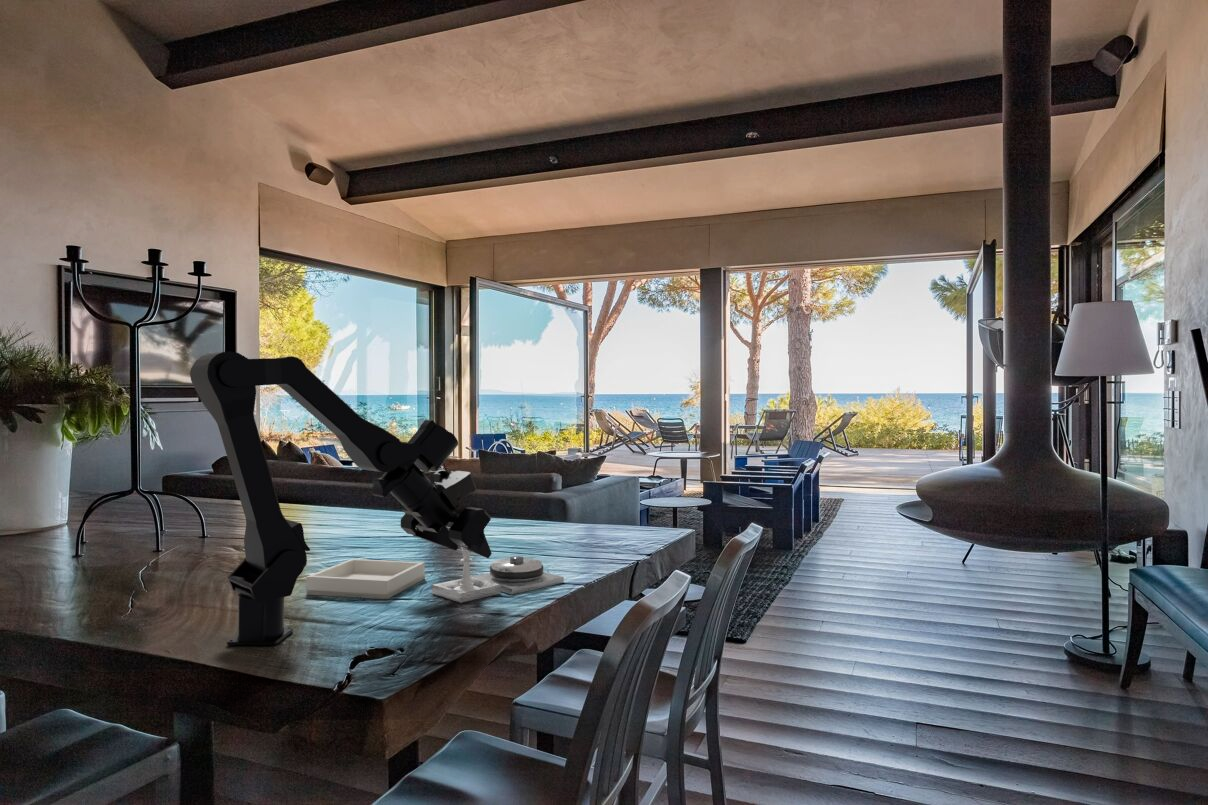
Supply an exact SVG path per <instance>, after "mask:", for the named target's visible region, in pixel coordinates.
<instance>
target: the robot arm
mask: <svg viewBox="0 0 1208 805" xmlns="http://www.w3.org/2000/svg"><path fill="white" fill-rule="evenodd" d="M189 374H190V376H189V377H190V382H191V383H192V385H193V387H194V389H195V391H196V393H197V395H198V397H199V400H200V401H201V402H202V404H203V406H204V407H205V408H206V410H207V412H208V413H209V414H210V415H211V417H212V418H213V419H214V421H215V422H216V424H217V427H218V431H219V433H220V436H221V440H222V443H223V447H224V450H225V453H226V458H227V461H228V463H229V467H230V471H231V473H232V478H233V480H234V484H235V488H236V491H237V493H238V496H239V501H240V504H241V507H242V511H243V514H244V518H245V530H244V539H243V543H244V553H245V555H244V556H245V558H244V559H243V560H242V561H241V562H240V563H239V564H238V565H237V566H236V567H235V569H234V570H233V571H232V572H230V574H229V575H227V576H228V577H227V581H228V583H229V585H230V588H231V591H234V592H238V594H237V634H236V635H233V636H232V637H231V638H230V639H228V640H226V646H274V645H278V643H280V642H281V641H283V640H284V639H285V638H286V637H287V636H289V635H290V634H291V633H292V632H294V627H293V626H285V597H290V596H291V595H292V594H293V592H294V588H295V586H296V582H297V580H298V578H299V576H300V575H301V574H302V573H303V571H304V570H305V567H306V566H307V563H308V558H307V556H308V555H307V552H310V551H311V548H310V547H309V546H308V544H307V543H306V540H305V533H304V528H303V527H304V526H303V524H302V523H301V522H299V521H294V520H289V519H286V517H285V515H284V514H283V512H282V510H281V506H280V502H279V500H278V496H277V492H276V489H275V486H274V485H275V484H274V482H273V478H272V475H271V471H270V468H269V465H268V460H267V457H266V454H265V451H264V447H263V444H262V440H261V437H260V433H259V430H258V426H257V423H256V419H255V406H256V398H257V388H256V387H257V386H272V385H273V386H274V385H276V386H279V387H280V389H282V390H283V391H284V392H286V394H288V395H289V396H290V397H291V398H292V399H293V400H294V401H296V402H297V403H298V404H299V405H300V406H302V407H303V408H304V409H305V410H306V411H307V412H308V413H309V414H311V416H313V417H314V418H316V419H317V420H318V421H319V422H320V423H321V424H322V425H324V427H326V429H328V430H329V431H330V432H331V433H333V435H335V437H337V439H338V440H339V442H340V444H341V447H342V449H343V450H344V451H345V453H346V454H347V456H348V458H350V459H351V461H352V462H353V463H354V464H355V466H356V467H358V468H359V469H361V470H365V471H373V472H380V473H384V474H382V476H381V477H379V478H373V479H372V483H373V484H372V490H371V495H373V496H376V497H381V498H387V496H389V494H391V495H392V496H393V498H395V499H396V500H397V501H398V503H400V504H401V506H403V507H402V508H401V511H402V512H403V513H404V515H402V517H401V519H400V528H401V529H402V530H403V531H404V532H405V533H406V534H408V535H412V536H413V537H416V538H419V539H421V540H425V541H427V542H429V543H433V544H435V545H438V546H441V547H444V548H447V549H450V550H452V551H457V550H458V549H459V548H460V549H461V548H463V549H465V550H468V551H470V552H471V553H473V554H475V555H478V556H480V557H483V558H485V559H489V558H490V557H491V556H492V550H491V548H490V545H489V542H488V540H487V538H486V535H485V528H486V527H487V526H488V524H489V523H490V521H491V520H492V517H491V515H490V514H489V513H488V512H487V511H486V509H484V508H478V507H472V506H470V507H464V508H463V510H462V511H461V513H459V512H455V510H458V509H459V508H460V506H461V505H462V503H461V502H460V500H462V499H463V498H465V497H466V496H467V495H469V494H472V493H474V492H476V490H477V486H476V483H475V481H474V478H473V476H472V474H471V472H470V471H463V470H455V471H453V470H451V471H450V472H449V471H447V470H446V469H440V468H441V467H442V465H443V464H444V463H445V462H446V461H447V459H448V458H449V457H450V456H451V454H452V453H453V452H454V451H455V449H456V448H457V447H458V446H459V441H458V439H457V437H456V435H455V434H453V432H451V431H449V430H447V429H446V428H445V427H442V426H441V425H439V424H437V423H436V422H435V421H434V420H433V419H425V420H424V421H423V422H422V423H421V424H420V426H419V428H418V430H417V431H416V432H415V433H414V434H413V435H412V436H411V437H410V439H409V440H408V441H401V440H400V438H398V437H397V436H396V435H393V434H392V433H391V432H389V431H387V430H386V429H385V428H382V427H381V426H379V425H376V424H374V423H372V422H370V421H368V420H367V419H365V418H364V417H362V416H361V415H360V414H358V413H357V412H356V411H355V410H354V409H353V408H352V407H351V406H350V405H348V404H347V402H345V400H343V399H342V398H340V396H339V395H337V393H335V392H334V391H333V390H332V389H331V388H330V387H329V386H327V385H326V384H325V383H324V382H323V381H322V380H321V379H320V378H319V377H318V376H316V374H314V372H312V371H311V370H310V369H309V368H308V367H307V366H306V364H305V363H304V362H303V360H301V359H300V358H299V357H297V356H294V355H293V356H291V355H290V356H281V357H274V358H273V357H271V358H248V357H246V356H245V355H243V354H241V353H239V352H236V351H228V350H227V351H220V352H219V351H218V352H210V353H207V354H204V355H202V356H200V357H199V358H197V359H196V360H195V361H194V362H193V364H192V366H191V367H190V371H189ZM431 471H432V472H434V473H433V482H432V481H431V480H430V478H428V476H426V475H425V474H424V473H429V472H431ZM448 527H449V529H448Z"/></svg>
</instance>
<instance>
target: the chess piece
mask: <svg viewBox="0 0 1208 805" xmlns="http://www.w3.org/2000/svg"><path fill="white" fill-rule="evenodd" d="M460 551H461V553H462V554H461V555H462V556H463V558H461V559H460V563H463V569H462V574H461V575H462V577H461V579H462V582H461V583H460V585H461V586H458V587H455V588H454V589H455V590H458V591H461V592H463V591H467V590H472V589H477V588H479V587H477V586H473V583H472V582H471V577H472V575H471V566H470V563H473V561H474V560H473V558H471V554H472V552H470V551H468V550H465V549H463V548H460Z"/></svg>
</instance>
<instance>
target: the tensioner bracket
mask: <svg viewBox="0 0 1208 805" xmlns="http://www.w3.org/2000/svg"><path fill="white" fill-rule="evenodd" d="M564 580H565V577H564V576H562V575H557V574H553V573H549V572H545V571H544V565H543V562H542V561H541V560H539V559H534V558H529V557H527V558H526V557H524V556H519V555H516V556H515V555H514V556H510V557H508V558H502V559H496V560H494V561H492V562H491V565H490V566H489V572H488V573H487V572H486V573H482V574H477V575H471V582H472V583H473V586H477V587H479V588H477V589H472V590H467V591H463V592H461V591H458V590H455V589H454V588H455V587H458V586H461V585H460V583H461V582H462V578H459V579H453V580H449V581H445V582H444V581H443V582H439V583H434V584H433V583H432V585H431V594H432V595H435V596H439V597H442V598H445V599H448V600H451V601H453V602H454V601H455V602H457V603H460V604H462V603H465V602H471V601H475V600H478V599H482V598H486V597H487V598H488V597H492V596H496V595H499V594H501V593H505V594H508V595H511V596H513V595H517V594H520V593H524V592H529V591H533V590H538V589H541V588H547V587H550V586H554V585H560V584H562V583H564V582H565V581H564Z"/></svg>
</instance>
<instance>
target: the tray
mask: <svg viewBox="0 0 1208 805" xmlns="http://www.w3.org/2000/svg"><path fill="white" fill-rule="evenodd" d="M425 563H426V562H423V561H405V560H404V561H400V560H384V559H383V560H381V559H364V558H363V559H361V558H360V559H359V558H350V559H348V560H345V561H343V562H340V563H338V564H335V565H333V566H330V567H328V568H325V569H323V570H320V571H317V572H315V573H312V574H310V575H307V576H306V587H305V588H306V593H305V594H306V595H307V596H308V595H309V596H310V595H311V596H324V597H327V596H328V597H339V598H340V597H344V598H357V597H359V598H360V597H361V598H360V599H375V600H377V599H378V600H388V599H391V598H392V597H395V595H398V594H400V593H401V592H403V591H406V590H407V589H409V588H410V587H412V586H414V585H416V584H418V583H419V582H421V581H423V580H424V579H425V578H426V564H425Z"/></svg>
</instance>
